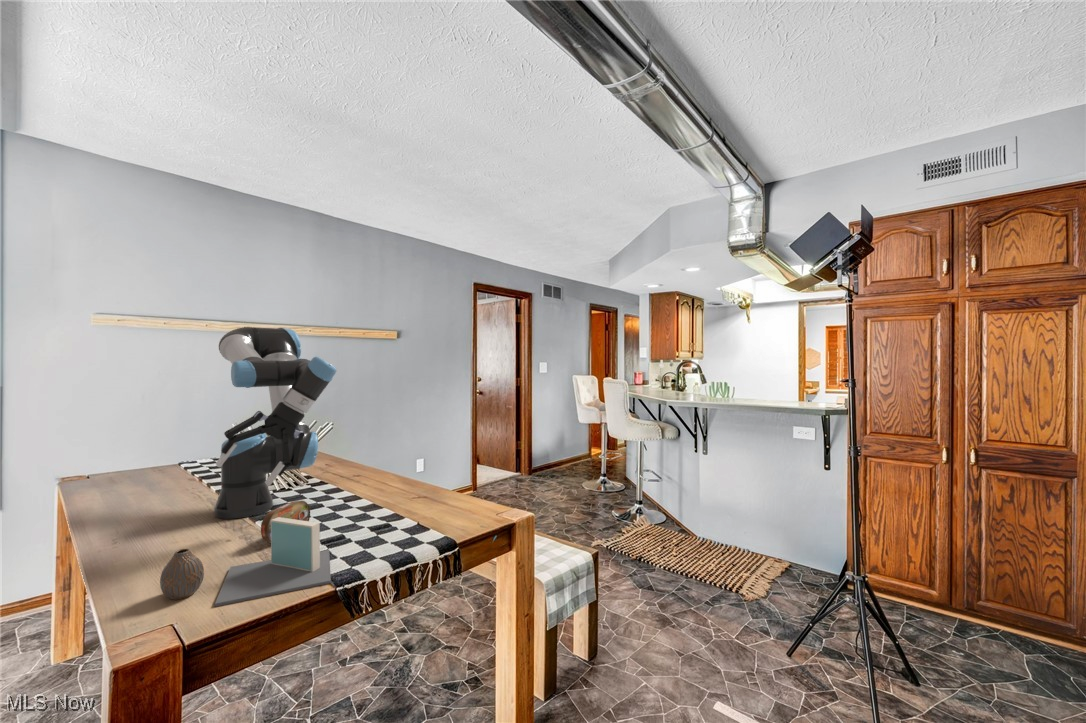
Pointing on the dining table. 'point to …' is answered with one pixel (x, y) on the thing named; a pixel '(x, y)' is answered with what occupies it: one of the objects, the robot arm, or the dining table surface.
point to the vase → (182, 575)
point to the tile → (295, 544)
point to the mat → (270, 580)
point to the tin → (285, 516)
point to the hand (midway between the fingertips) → (243, 475)
